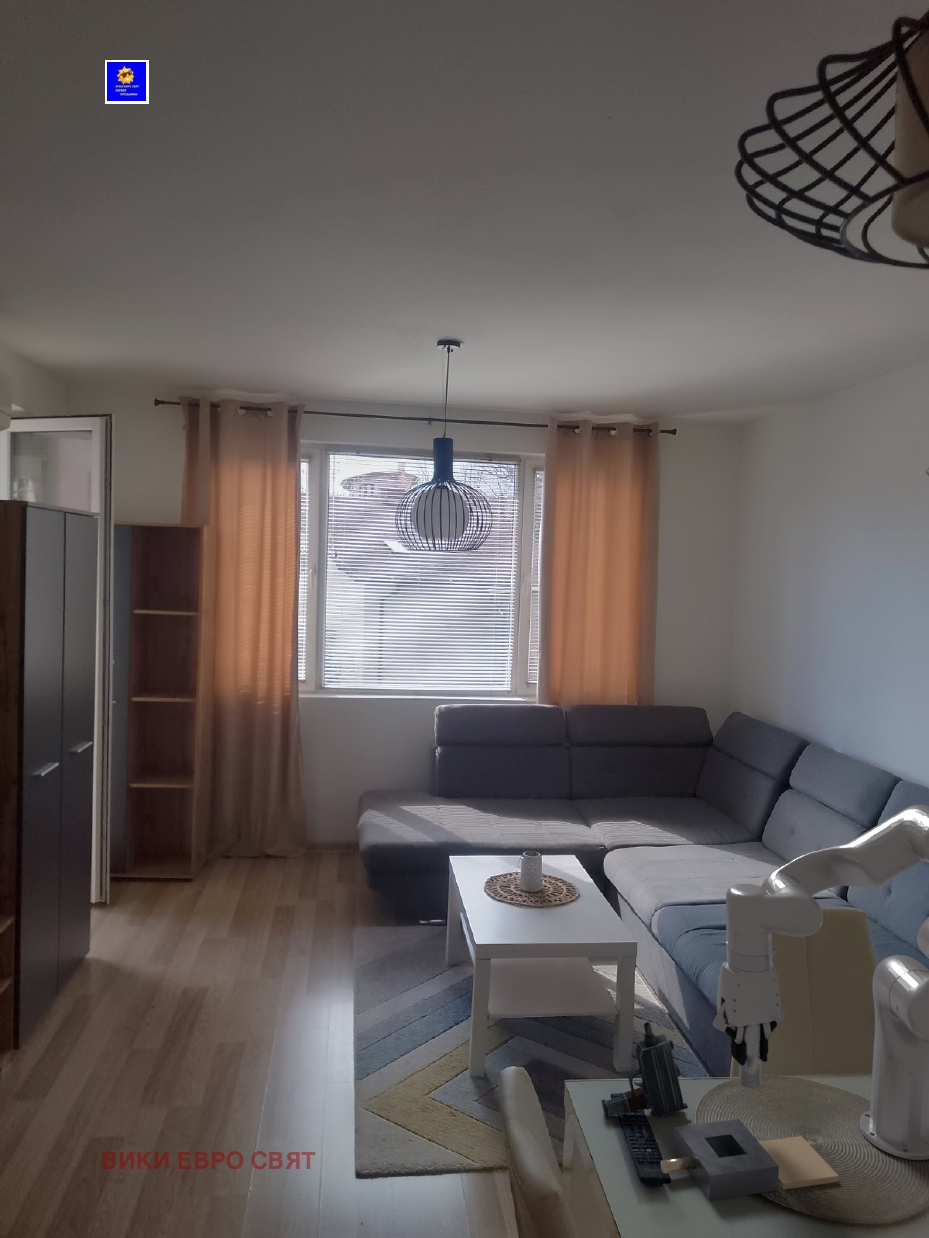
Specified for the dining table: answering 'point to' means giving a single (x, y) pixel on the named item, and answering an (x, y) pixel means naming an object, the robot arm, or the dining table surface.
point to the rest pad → (798, 1163)
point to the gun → (651, 1080)
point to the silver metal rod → (751, 1057)
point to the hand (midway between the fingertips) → (749, 1058)
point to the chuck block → (723, 1159)
